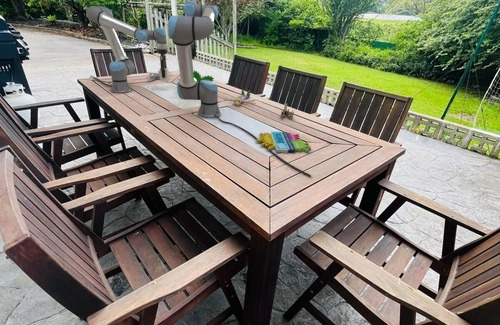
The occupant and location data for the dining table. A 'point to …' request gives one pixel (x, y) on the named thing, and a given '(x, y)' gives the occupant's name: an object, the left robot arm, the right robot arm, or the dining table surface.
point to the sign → (283, 142)
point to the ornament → (198, 78)
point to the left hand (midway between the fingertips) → (164, 76)
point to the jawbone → (287, 112)
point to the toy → (241, 99)
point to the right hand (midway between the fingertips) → (193, 57)
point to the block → (165, 75)
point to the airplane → (154, 76)
